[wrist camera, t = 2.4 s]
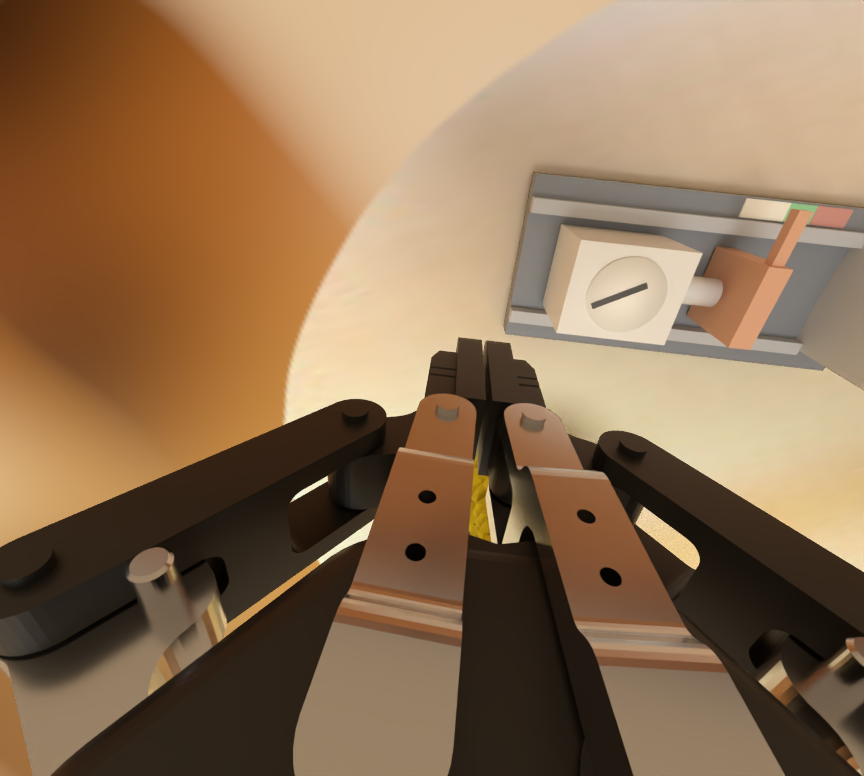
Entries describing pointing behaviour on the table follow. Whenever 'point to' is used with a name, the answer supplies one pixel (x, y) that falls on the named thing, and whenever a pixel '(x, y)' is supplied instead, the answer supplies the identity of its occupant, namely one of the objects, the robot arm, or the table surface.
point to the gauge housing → (623, 284)
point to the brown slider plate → (748, 286)
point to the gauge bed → (704, 230)
